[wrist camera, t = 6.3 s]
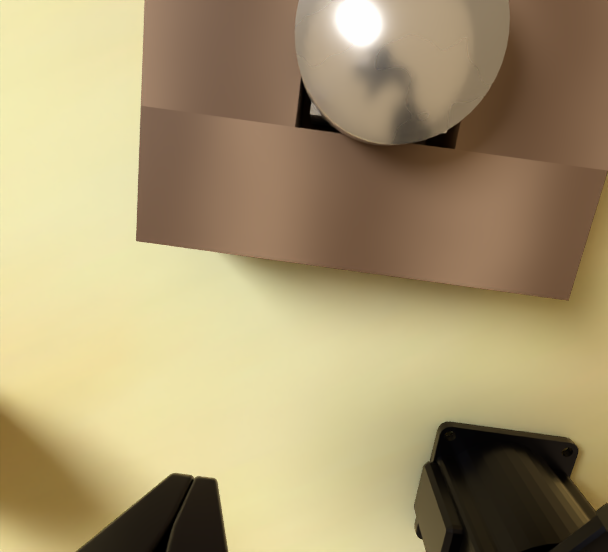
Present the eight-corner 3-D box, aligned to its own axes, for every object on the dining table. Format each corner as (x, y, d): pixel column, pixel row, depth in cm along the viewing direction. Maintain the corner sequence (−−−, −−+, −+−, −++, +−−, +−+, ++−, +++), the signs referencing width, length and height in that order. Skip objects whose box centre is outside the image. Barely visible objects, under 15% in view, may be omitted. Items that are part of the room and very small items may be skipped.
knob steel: (461, 3, 15) (534, -76, 10) (430, 157, 17) (481, 157, 12) (312, -19, 15) (310, -108, 10) (293, 138, 17) (282, 129, 12)
